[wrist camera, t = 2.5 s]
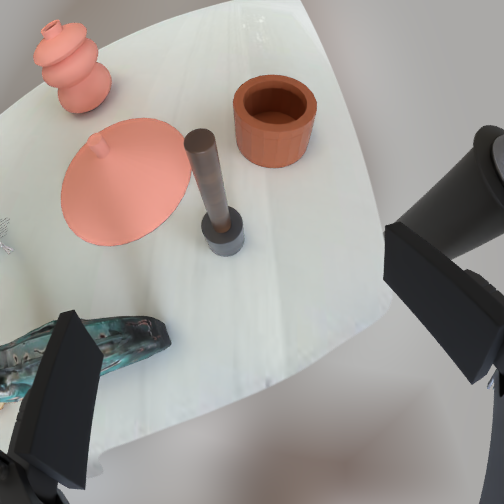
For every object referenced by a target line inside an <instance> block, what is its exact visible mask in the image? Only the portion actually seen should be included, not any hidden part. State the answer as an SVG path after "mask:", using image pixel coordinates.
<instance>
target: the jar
mask: <svg viewBox="0 0 504 504" xmlns="http://www.w3.org/2000/svg"><path fill="white" fill-rule="evenodd" d="M233 108H234V120H235V131H236V139H237V145H238V148H239V150H240V152H241V153H242V154H243V155H244V157H245V158H247V159H248V160H249V161H251V162H252V163H254V164H257V165H259V166H263V167H268V168H280V167H285V166H288V165H291V164H293V163H295V162H296V161H298V160H299V159H300V158H301V157H302V156H303V154H304V153H305V151H306V148H307V145H308V143H309V139H310V135H311V131H312V127H313V123H314V119H315V115H316V111H317V102H316V99H315V97H314V95H313V93H312V92H311V91H310V90H309V89H308V87H307V86H306V85H304V84H303V83H301V82H299V81H298V80H296V79H293V78H290V77H287V76H281V75H263V76H258V77H255V78H252V79H250V80H248V81H247V82H245V83H244V84H242V85H241V86H240V87H239V89H238V90H237V91H236V93H235V95H234V99H233Z"/></svg>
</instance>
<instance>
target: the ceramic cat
mask: <svg viewBox="0 0 504 504" xmlns="http://www.w3.org/2000/svg"><path fill="white" fill-rule="evenodd" d="M80 320H81V322H82V323H83V325H84V326H85V328H86V329H87V331H88V332H89V334H90V335H91V337H92V338H93V340H94V341H95V343H96V344H97V346H98V347H99V349H100V350H101V352H102V353H103V354H104V358H103V363H102V368H101V373H100V376H102V375H104V374H106V373H109V372H111V371H114V370H117V369H120V368H122V367H125V366H127V365H130V364H133V363H135V362H138V361H141V360H143V359H146V358H149V357H150V356H152V355H154V354H156V353H158V352H160V351H162V350H165V349H166V348H168V347H169V346H170V345H171V341H170V338H169V336H168V333H167V331H166V327H165V324H164V323H163V322H161V321H159V320H157V319H155V318H152V317H148V316H119V317H109V318H100V319H91V320H85V319H80ZM56 322H57V320H55V321H54V320H53V321H51V322H49V323H47V324H45V325H43V326H41V327H39V328H37V329H35V330H33V331H31V332H29V333H27V334H26V335H24V336H22V337H20V338H18V339H16V340H14V341H13V342H10V343H8V344H5V345H2V346H0V402H1V403H16V402H18V401H19V400H22V399H23V397H24V396H25V394H26V393H27V391H28V390H29V388H31V387H32V384H33V381H34V378H35V375H36V373H37V370H38V367H39V364H40V362H41V359H42V356H43V354H44V351H45V349H46V346H47V344H48V341H49V339H50V336H51V334H52V331H53V329H54V327H55V324H56Z"/></svg>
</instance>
